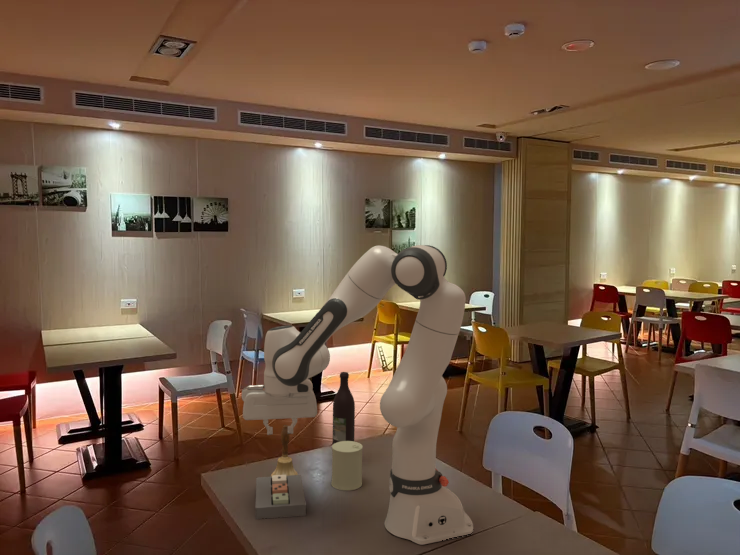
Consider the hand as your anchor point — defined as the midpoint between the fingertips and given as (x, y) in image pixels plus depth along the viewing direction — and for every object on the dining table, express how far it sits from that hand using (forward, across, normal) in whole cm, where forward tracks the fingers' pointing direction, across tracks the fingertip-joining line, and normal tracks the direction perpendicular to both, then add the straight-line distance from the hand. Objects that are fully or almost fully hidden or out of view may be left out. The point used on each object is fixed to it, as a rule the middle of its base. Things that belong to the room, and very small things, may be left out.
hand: (280, 433), depth 156 cm
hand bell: (+19, +2, +16) cm, 25 cm away
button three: (+18, 0, 0) cm, 18 cm away
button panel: (+19, 0, 0) cm, 19 cm away
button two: (+18, 0, -6) cm, 19 cm away
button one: (+17, 0, +6) cm, 18 cm away
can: (+19, +20, +8) cm, 29 cm away
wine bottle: (+19, +21, +23) cm, 37 cm away
